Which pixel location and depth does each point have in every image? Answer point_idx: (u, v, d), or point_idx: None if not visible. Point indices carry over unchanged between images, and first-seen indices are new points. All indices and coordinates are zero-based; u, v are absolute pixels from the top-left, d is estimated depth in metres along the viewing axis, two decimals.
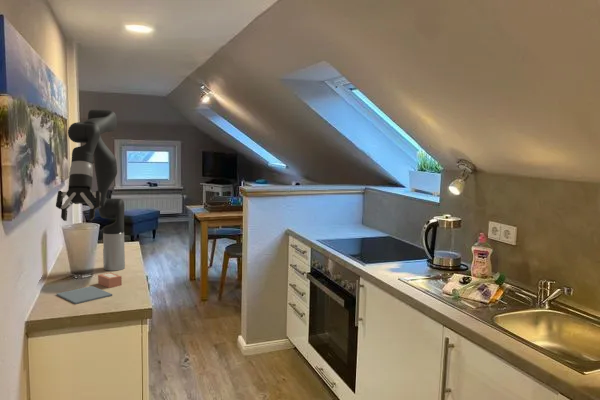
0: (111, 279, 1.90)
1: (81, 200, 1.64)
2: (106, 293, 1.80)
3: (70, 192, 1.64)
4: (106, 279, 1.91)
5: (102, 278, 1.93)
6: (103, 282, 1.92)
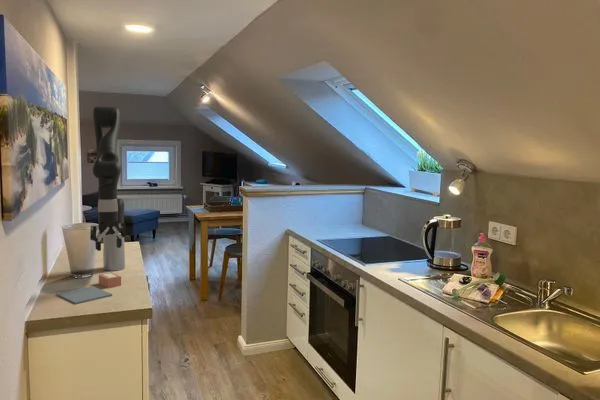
0: (110, 279, 1.90)
1: (112, 232, 1.93)
2: (106, 293, 1.80)
3: (103, 226, 1.89)
4: (105, 279, 1.91)
5: (102, 278, 1.93)
6: (103, 282, 1.93)
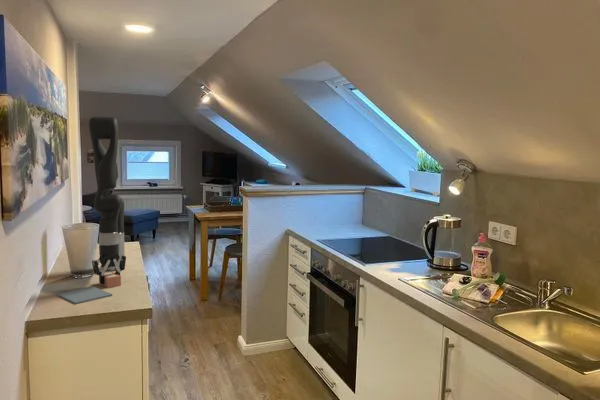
0: (110, 279, 1.90)
1: (113, 264, 1.94)
2: (106, 293, 1.80)
3: (104, 259, 1.91)
4: (105, 278, 1.91)
5: None
6: None
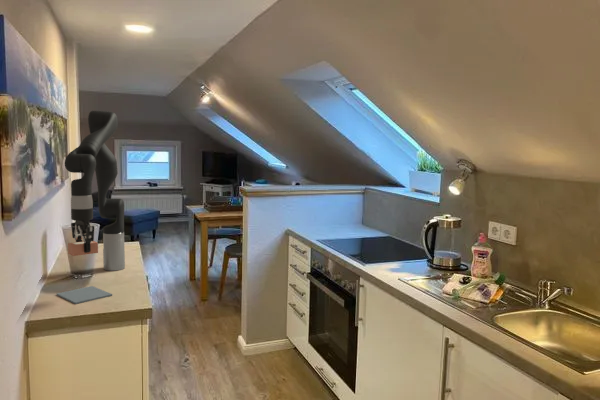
0: (69, 244, 1.76)
1: None
2: (106, 293, 1.80)
3: (76, 223, 1.78)
4: None
5: None
6: None
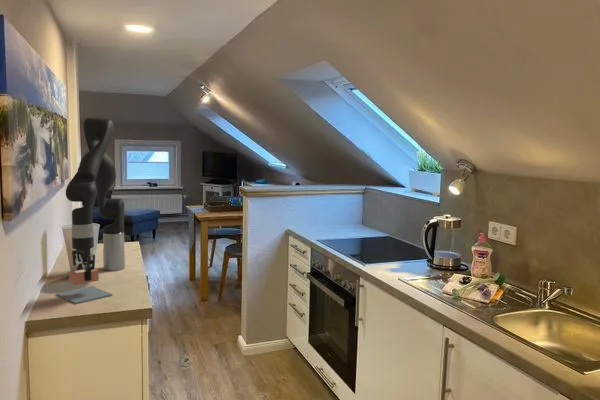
0: (69, 273, 1.77)
1: None
2: (106, 293, 1.80)
3: (77, 251, 1.79)
4: None
5: None
6: None
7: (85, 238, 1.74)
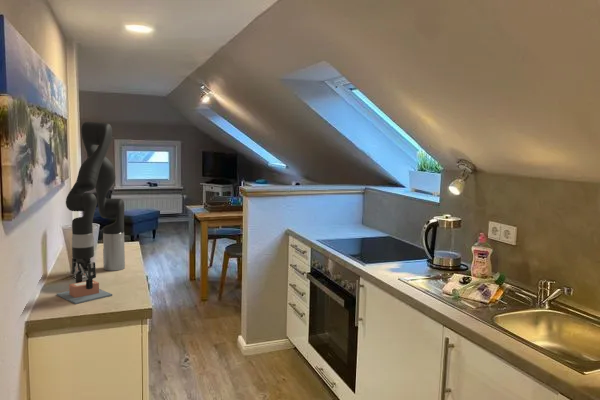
0: (70, 286, 1.77)
1: (82, 270, 1.77)
2: (106, 293, 1.80)
3: (77, 261, 1.79)
4: None
5: None
6: None
7: (85, 248, 1.75)
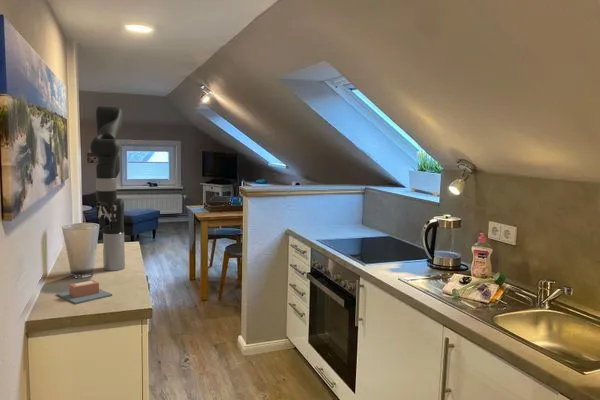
0: (70, 286, 1.77)
1: None
2: (106, 293, 1.80)
3: (100, 204, 1.89)
4: None
5: None
6: None
7: (109, 191, 1.84)
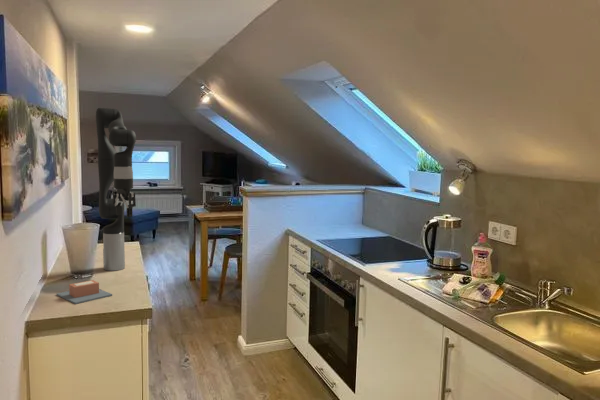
0: (70, 286, 1.77)
1: (122, 200, 1.95)
2: (106, 293, 1.80)
3: (117, 192, 1.97)
4: None
5: None
6: None
7: (126, 179, 1.93)
